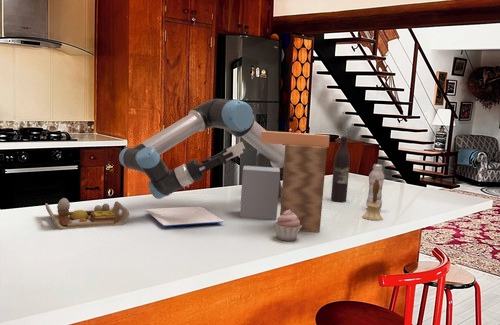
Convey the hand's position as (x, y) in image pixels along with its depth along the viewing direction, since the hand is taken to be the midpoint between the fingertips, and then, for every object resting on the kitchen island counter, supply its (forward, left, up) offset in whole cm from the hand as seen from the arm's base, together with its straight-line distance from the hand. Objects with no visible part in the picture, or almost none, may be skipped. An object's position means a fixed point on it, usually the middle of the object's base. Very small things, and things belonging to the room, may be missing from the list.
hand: (242, 146), depth 181 cm
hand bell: (+31, +49, -28) cm, 65 cm away
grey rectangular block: (-2, +15, -28) cm, 32 cm away
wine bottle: (+6, +68, -28) cm, 74 cm away
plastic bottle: (+25, +64, -28) cm, 75 cm away
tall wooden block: (+18, +13, -28) cm, 36 cm away
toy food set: (-36, -38, -29) cm, 60 cm away
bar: (+15, +11, +2) cm, 18 cm away
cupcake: (+23, -3, -28) cm, 37 cm away
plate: (-16, -12, -28) cm, 35 cm away
